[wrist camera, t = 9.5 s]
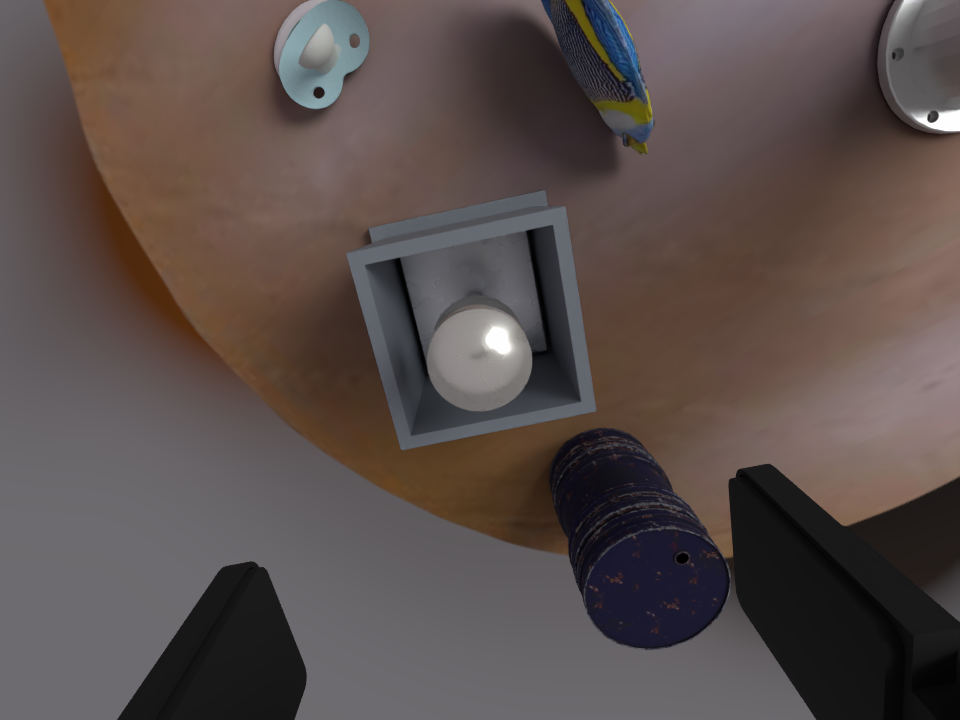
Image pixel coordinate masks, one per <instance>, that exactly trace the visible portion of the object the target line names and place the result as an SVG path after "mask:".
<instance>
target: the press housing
mask: <svg viewBox="0 0 960 720" xmlns="http://www.w3.org/2000/svg"><path fill="white" fill-rule="evenodd" d="M368 229H369V233H370V237H371V240H372V243H371V244H369V245H366V246H364V247H361V248H358V249H356V250H353V251H351V252H348V253H346V255H347V258H348V262H349V266H350V269H351V273H352V276H353V280H354V283H355V287H356V291H357V294H358V298H359V301H360V305H361V309H362V312H363V316H364V319H365V323H366V326H367V330H368V334H369V337H370V341H371V344H372V348H373V351H374V355H375V359H376V362H377V366H378V369H379V373H380V376H381V380H382V384H383V387H384V391H385V394H386V398H387V401H388V405H389V409H390V412H391V416H392V419H393V423H394V427H395V430H396V434H397V437H398V441H399V444H400V448H401V450H406V449H411V448H416V447H421V446H426V445H431V444H436V443H441V442H446V441H451V440H456V439H461V438H466V437H471V436H476V435H481V434H486V433H491V432H496V431H501V430H506V429H511V428H516V427H521V426H526V425H531V424H536V423H541V422H546V421H551V420H556V419H561V418H566V417H571V416H576V415H581V414H586V413H591V412H596V405H595V398H594V392H593V385H592V378H591V372H590V365H589V358H588V352H587V345H586V339H585V332H584V325H583V319H582V312H581V305H580V299H579V292H578V286H577V279H576V272H575V266H574V259H573V252H572V246H571V239H570V233H569V226H568V219H567V213H566V206H548V203H547V197H546V191H545V190H542V191H537V192H533V193H528V194H524V195H519V196H514V197H510V198H505V199H501V200H496V201H491V202H487V203H482V204H477V205H473V206H468V207H464V208H459V209H454V210H450V211H445V212H441V213H436V214H431V215H427V216H422V217H417V218H413V219H408V220H404V221H399V222H394V223H390V224H385V225H381V226H376V227H371V228H368ZM521 231H526V234H527V240H528V246H529V251H530V257H531V263H532V268H533V274H534V280H535V285H536V291H537V297H538V303H539V308H540V314H541V320H542V325H543V331H544V337H545V343H546V348H547V350H544V351H539V352H534V353H532V369H531V373H530V377H529V379H528V381H527V384H526V385H525V387H524V388H523V390H522V391H521V392H520V394H519V395H518V396H517V397H515V398H514V399H513V400H512V401H510V402H509V403H507V404H506V405H504V406H502V407H499V408H497V409H493V410H488V411H470V410H465V409H462V408H459V407H457V406H455V405H453V404H451V403H450V402H448V401H447V400H445V399H444V398H443V397H442V396H441V395H440V394H439V393H438V391H437V390H436V389H435V387H434V386H433V384H432V382H431V379H430V377H429V373H428V368H427V363H426V359H425V355H424V351H423V347H422V343H421V339H420V335H419V331H418V327H417V323H416V319H415V315H414V311H413V307H412V303H411V299H410V295H409V291H408V287H407V283H406V279H405V275H404V271H403V267H402V263H401V259H400V257H404V256H409V255H413V254H418V253H423V252H428V251H432V250H437V249H442V248H446V247H451V246H456V245H460V244H465V243H470V242H474V241H479V240H484V239H488V238H493V237H498V236H502V235H507V234H512V233H516V232H521Z"/></svg>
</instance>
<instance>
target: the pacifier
mask: <svg viewBox="0 0 960 720" xmlns="http://www.w3.org/2000/svg"><path fill="white" fill-rule="evenodd" d="M352 35H358V36H359V38H360V44H359V46H358V47H357V48H352V47H351V46H350V38H351V36H352ZM369 40H370V39H369V32H368V29H367V26H366V23H365V21H364V19H363V17H362V16H361V14H360V13H359V12H358V11H357V10H356V9H355V8H354V7H353V6H351V5H350V4H348V3H346V2H343V1H338V0H309V1H307V2H305V3H303V4H301V5H299V6H298V7H297V8H296V9H295V10H293V11H292V12H291V13H290V15H289V16H288V17H287V18H286V20H285V21H284V23H283V25H282V27H281V28H280V30H279V32H278V35H277V39H276V42H275V48H274V63H275V68H276V71H277V73H278V76H279V77H280V78H281V82H282V84H283V87H284V88H285V90H286V92H287V93H288V95H289V96H290V97H291V98H292V99H293V100H294V101H295V102H297V103H298V104H300V105H302V106H304V107H306V108H310V109H322V108H326V107H328V106H330V105H331V104H333V103H334V102H335V101H336V100H337V98H338V97H339V95H340V93H341V90H342V87H343V79H344V77H345V75H346V74H347V73H350V72H353V71H354V70H356V69H357V68H358V67H359V66H360V65H361V64H362V63H363V62H364V60H365V59H366V57H367V54H368V50H369ZM318 87H321V88H323V89H324V91H325V95H324V96H323V97H322V98H320V99H318V98H315V97H314V94H313V92H314V90H315V89H316V88H318Z"/></svg>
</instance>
